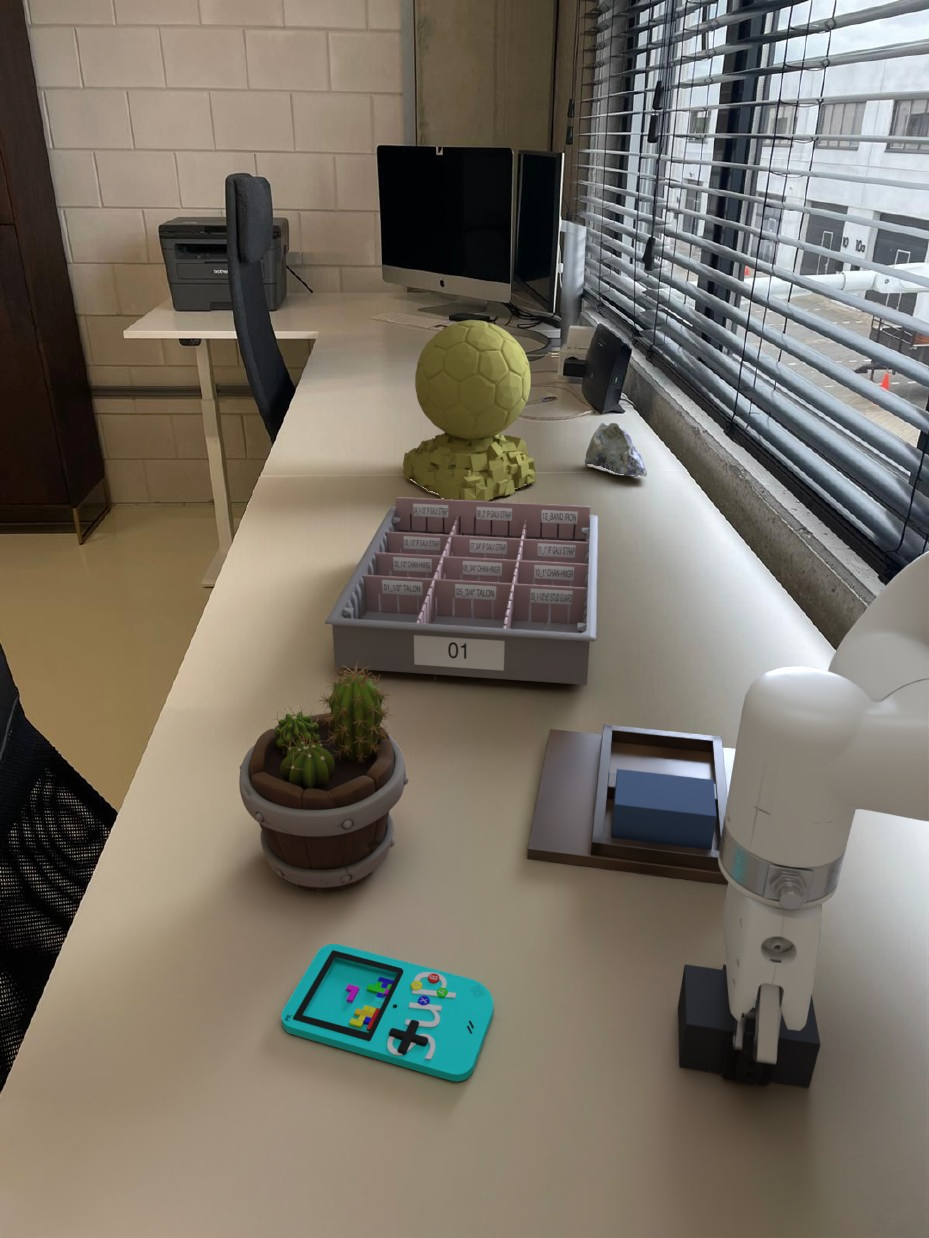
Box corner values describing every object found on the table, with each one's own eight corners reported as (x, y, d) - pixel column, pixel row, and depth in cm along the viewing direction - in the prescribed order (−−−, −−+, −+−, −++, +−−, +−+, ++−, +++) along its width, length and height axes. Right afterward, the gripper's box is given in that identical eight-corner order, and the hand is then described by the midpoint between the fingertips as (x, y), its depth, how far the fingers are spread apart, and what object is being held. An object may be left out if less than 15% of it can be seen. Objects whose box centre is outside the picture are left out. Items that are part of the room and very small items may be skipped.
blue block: (707, 817, 91) (713, 779, 89) (710, 855, 86) (716, 816, 84) (613, 805, 92) (617, 768, 90) (610, 842, 87) (614, 804, 85)
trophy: (477, 457, 195) (479, 306, 181) (552, 484, 180) (560, 322, 166) (389, 479, 182) (383, 318, 169) (461, 511, 167) (461, 337, 154)
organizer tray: (328, 680, 116) (322, 607, 111) (392, 552, 151) (390, 493, 146) (592, 699, 112) (597, 624, 107) (594, 563, 147) (599, 502, 143)
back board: (773, 762, 101) (777, 741, 100) (796, 893, 83) (802, 870, 82) (549, 737, 105) (550, 717, 104) (526, 858, 87) (527, 835, 86)
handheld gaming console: (468, 1075, 66) (275, 1020, 70) (468, 1085, 66) (276, 1029, 70) (501, 984, 73) (324, 938, 77) (501, 993, 73) (325, 947, 78)
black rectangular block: (799, 1024, 71) (809, 981, 69) (809, 1088, 66) (820, 1044, 64) (677, 1005, 73) (684, 963, 71) (678, 1067, 68) (685, 1024, 66)
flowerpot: (258, 931, 79) (232, 732, 70) (243, 817, 92) (220, 637, 83) (426, 896, 83) (423, 703, 74) (389, 792, 96) (382, 617, 87)
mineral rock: (648, 485, 180) (653, 433, 175) (592, 485, 180) (596, 434, 175) (635, 464, 192) (639, 415, 187) (582, 464, 191) (585, 415, 187)
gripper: (866, 960, 53) (810, 1162, 61) (821, 778, 68) (781, 960, 76) (728, 941, 54) (692, 1142, 62) (714, 766, 69) (686, 947, 77)
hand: (741, 1040), depth 69 cm, fingers closed on black rectangular block, 5 cm apart
